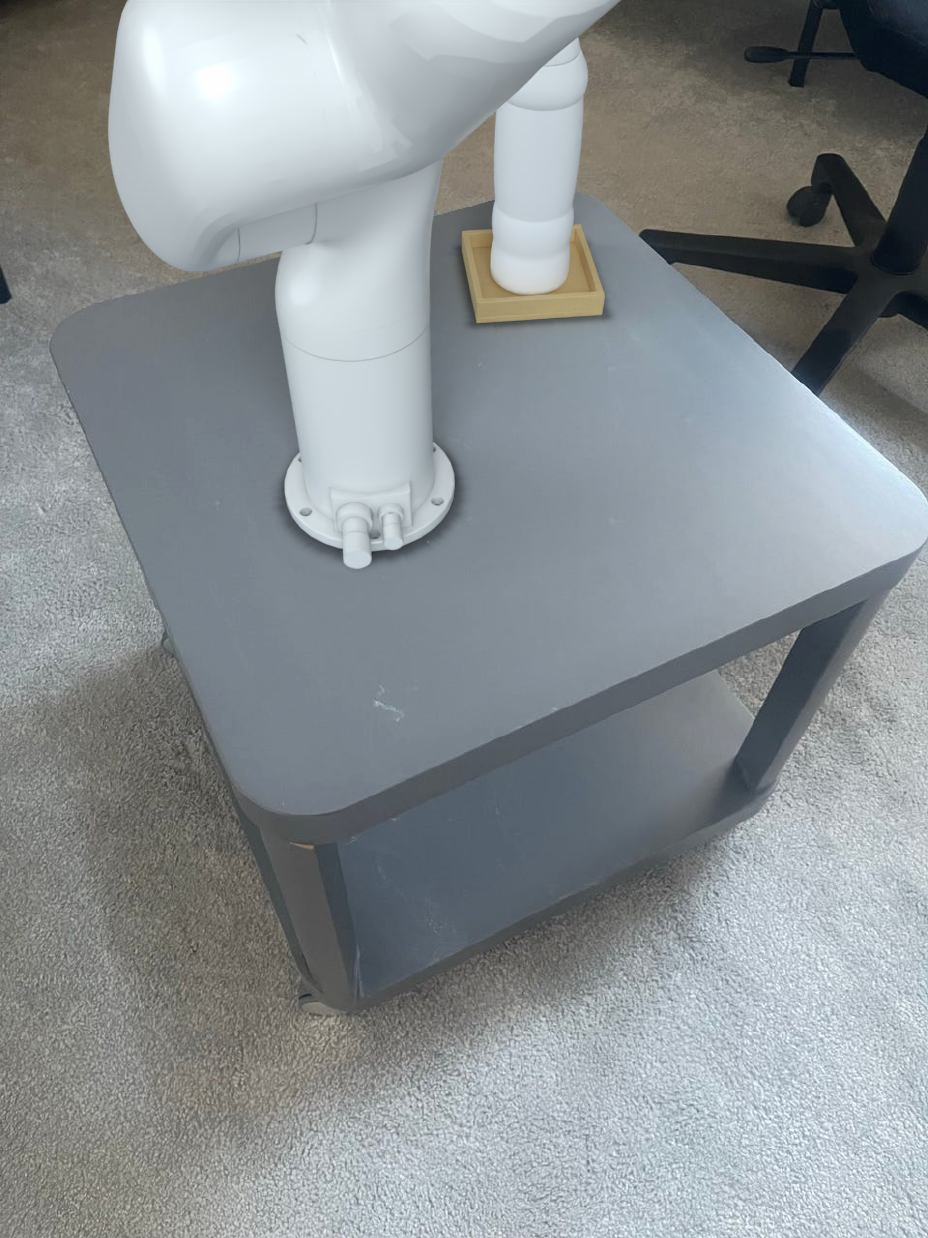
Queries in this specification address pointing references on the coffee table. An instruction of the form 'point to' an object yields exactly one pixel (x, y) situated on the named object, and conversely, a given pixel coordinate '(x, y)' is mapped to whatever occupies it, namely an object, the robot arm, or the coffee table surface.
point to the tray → (501, 305)
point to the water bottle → (538, 176)
